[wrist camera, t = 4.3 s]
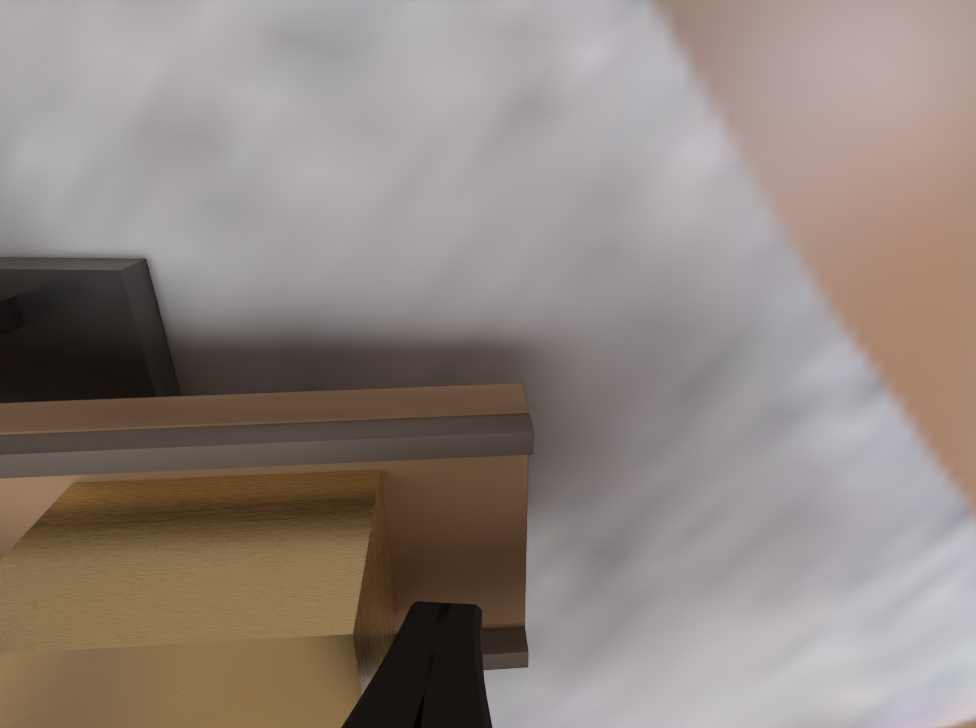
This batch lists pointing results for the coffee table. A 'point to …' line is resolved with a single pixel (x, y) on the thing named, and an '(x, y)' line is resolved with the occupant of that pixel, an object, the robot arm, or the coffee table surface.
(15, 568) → the rider
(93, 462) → the beam
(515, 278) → the coffee table surface
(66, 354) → the grey metal bracket
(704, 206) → the coffee table surface
